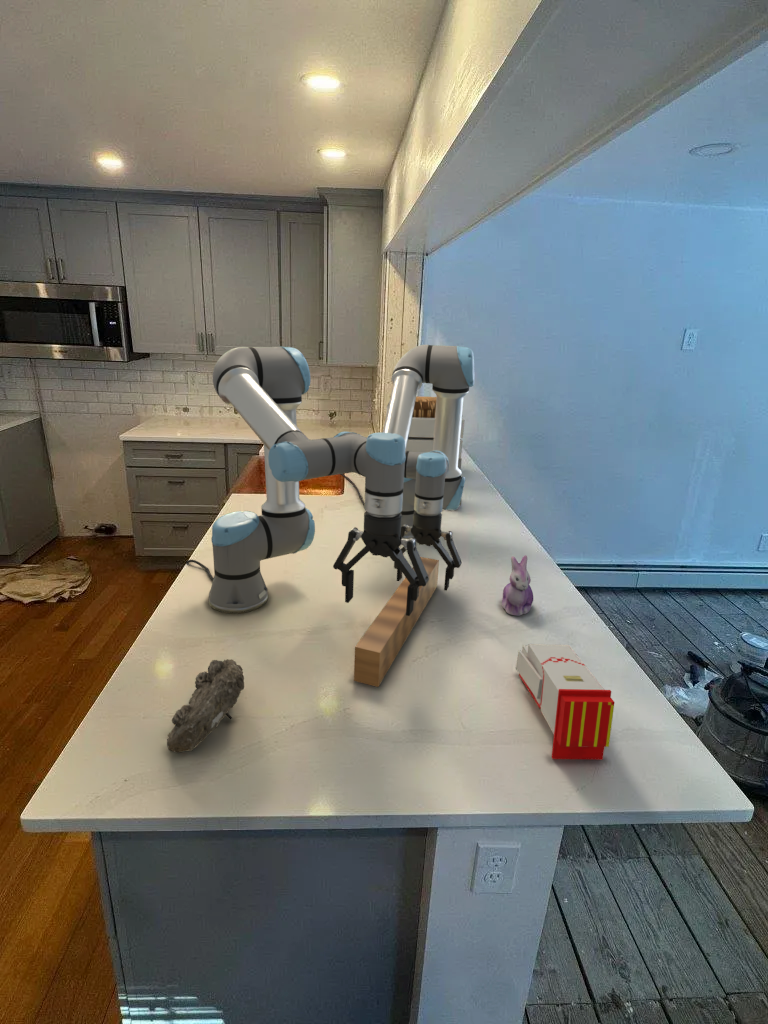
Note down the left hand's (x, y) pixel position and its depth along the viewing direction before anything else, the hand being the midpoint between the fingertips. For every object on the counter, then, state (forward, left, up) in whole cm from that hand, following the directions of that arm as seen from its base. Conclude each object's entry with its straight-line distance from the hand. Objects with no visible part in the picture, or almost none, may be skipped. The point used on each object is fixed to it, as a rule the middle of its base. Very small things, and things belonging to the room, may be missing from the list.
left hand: (378, 606), depth 120 cm
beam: (-6, +18, -15) cm, 24 cm away
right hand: (-11, +35, -12) cm, 39 cm away
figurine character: (-45, +107, -15) cm, 117 cm away
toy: (+36, +12, -15) cm, 41 cm away
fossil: (-14, -33, -15) cm, 39 cm away
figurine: (+12, +46, -15) cm, 50 cm away
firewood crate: (-81, +138, -15) cm, 161 cm away
